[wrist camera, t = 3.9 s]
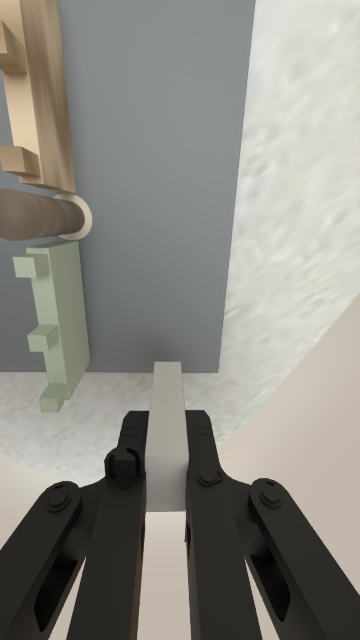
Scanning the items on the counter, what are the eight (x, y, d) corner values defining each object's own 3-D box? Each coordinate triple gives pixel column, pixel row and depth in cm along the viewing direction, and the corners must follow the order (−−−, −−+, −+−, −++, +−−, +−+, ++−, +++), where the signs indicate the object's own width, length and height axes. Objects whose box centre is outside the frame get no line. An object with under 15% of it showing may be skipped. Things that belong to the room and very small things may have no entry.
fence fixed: (86, 233, 19) (38, 242, 12) (56, 232, 19) (-11, 240, 12) (66, 0, 15) (-29, -208, 8) (26, -3, 15) (-108, -218, 8)
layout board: (-49, 368, 23) (-55, 372, 23) (-181, -49, 14) (-195, -60, 14) (216, 369, 25) (218, 373, 24) (254, -10, 16) (257, -18, 15)
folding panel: (61, 240, 19) (9, 250, 13) (78, 241, 19) (34, 251, 13) (76, 361, 23) (40, 416, 16) (90, 361, 23) (60, 415, 16)
